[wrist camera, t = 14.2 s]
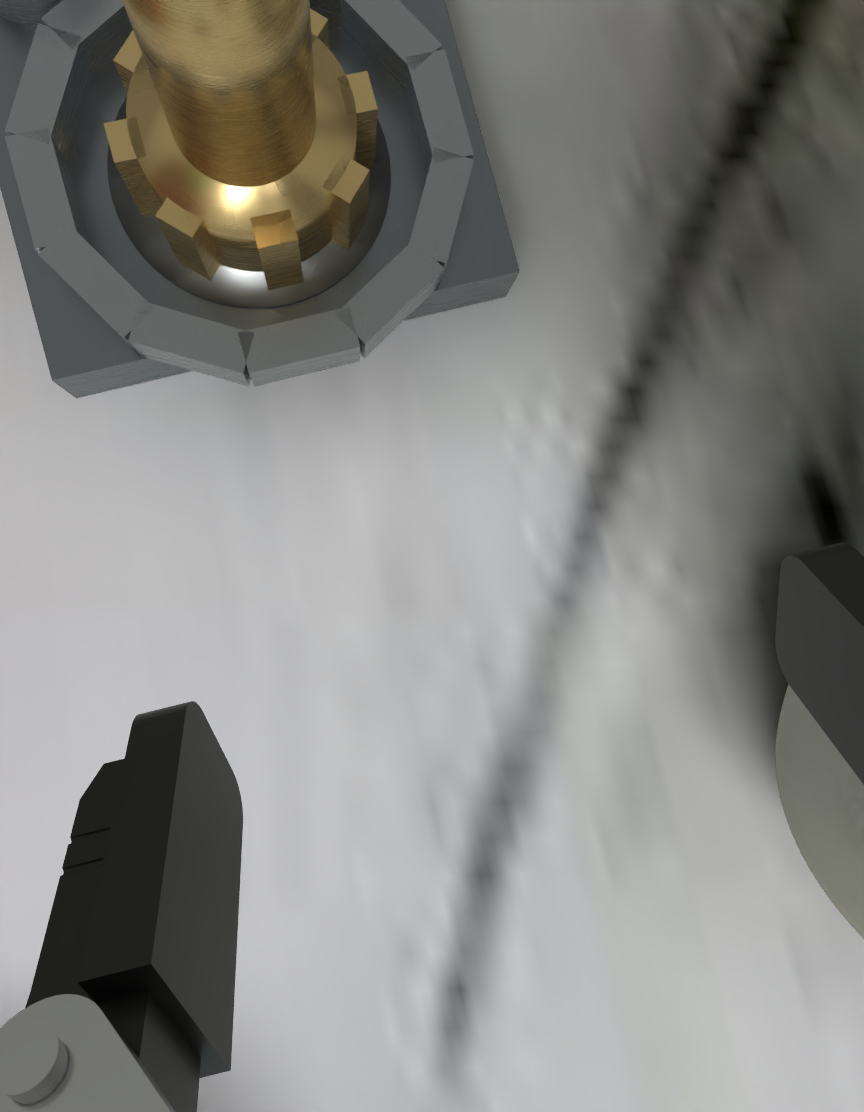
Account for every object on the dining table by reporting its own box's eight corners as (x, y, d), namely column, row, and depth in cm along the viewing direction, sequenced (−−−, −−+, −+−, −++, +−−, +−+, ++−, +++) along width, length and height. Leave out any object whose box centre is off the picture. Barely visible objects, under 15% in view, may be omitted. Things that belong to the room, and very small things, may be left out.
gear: (338, 40, 21) (334, -465, 11) (399, 260, 21) (450, -45, 11) (107, 84, 20) (-124, -410, 10) (168, 313, 20) (-4, 38, 10)
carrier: (393, -109, 23) (408, -331, 18) (518, 340, 23) (573, 259, 17) (-40, -34, 22) (-172, -249, 16) (88, 445, 22) (0, 393, 16)
